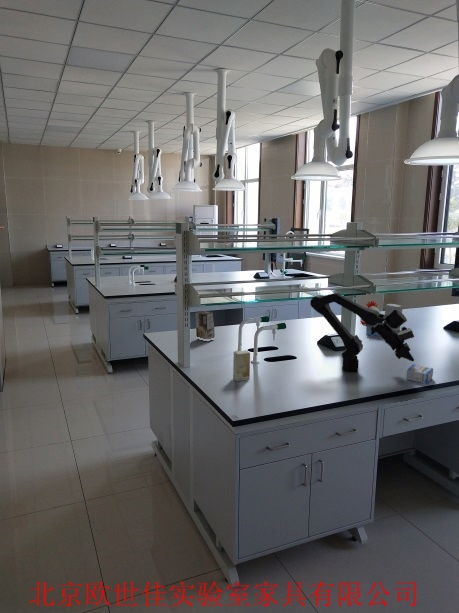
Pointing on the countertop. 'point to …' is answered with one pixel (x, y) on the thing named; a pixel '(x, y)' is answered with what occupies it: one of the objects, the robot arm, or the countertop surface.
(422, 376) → the medicine box
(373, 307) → the kitchen timer
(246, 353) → the skincare box
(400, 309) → the skincare box
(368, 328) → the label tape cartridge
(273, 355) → the countertop surface
